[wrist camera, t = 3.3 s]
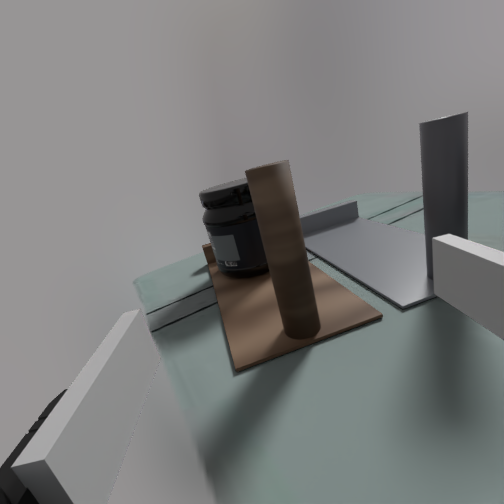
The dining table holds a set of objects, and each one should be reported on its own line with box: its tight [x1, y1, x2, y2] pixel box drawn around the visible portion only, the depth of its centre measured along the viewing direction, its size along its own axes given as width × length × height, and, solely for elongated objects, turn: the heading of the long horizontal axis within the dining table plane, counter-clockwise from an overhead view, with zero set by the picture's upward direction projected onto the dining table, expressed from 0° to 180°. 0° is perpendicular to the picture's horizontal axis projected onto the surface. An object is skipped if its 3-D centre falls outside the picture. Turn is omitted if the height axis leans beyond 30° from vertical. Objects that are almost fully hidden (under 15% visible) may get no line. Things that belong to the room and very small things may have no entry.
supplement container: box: [199, 178, 269, 278], centre depth 40 cm, size 10×10×12 cm
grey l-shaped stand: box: [299, 112, 468, 309], centre depth 36 cm, size 28×13×14 cm, turn 13°
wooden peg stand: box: [202, 160, 383, 372], centre depth 34 cm, size 28×13×14 cm, turn 13°
